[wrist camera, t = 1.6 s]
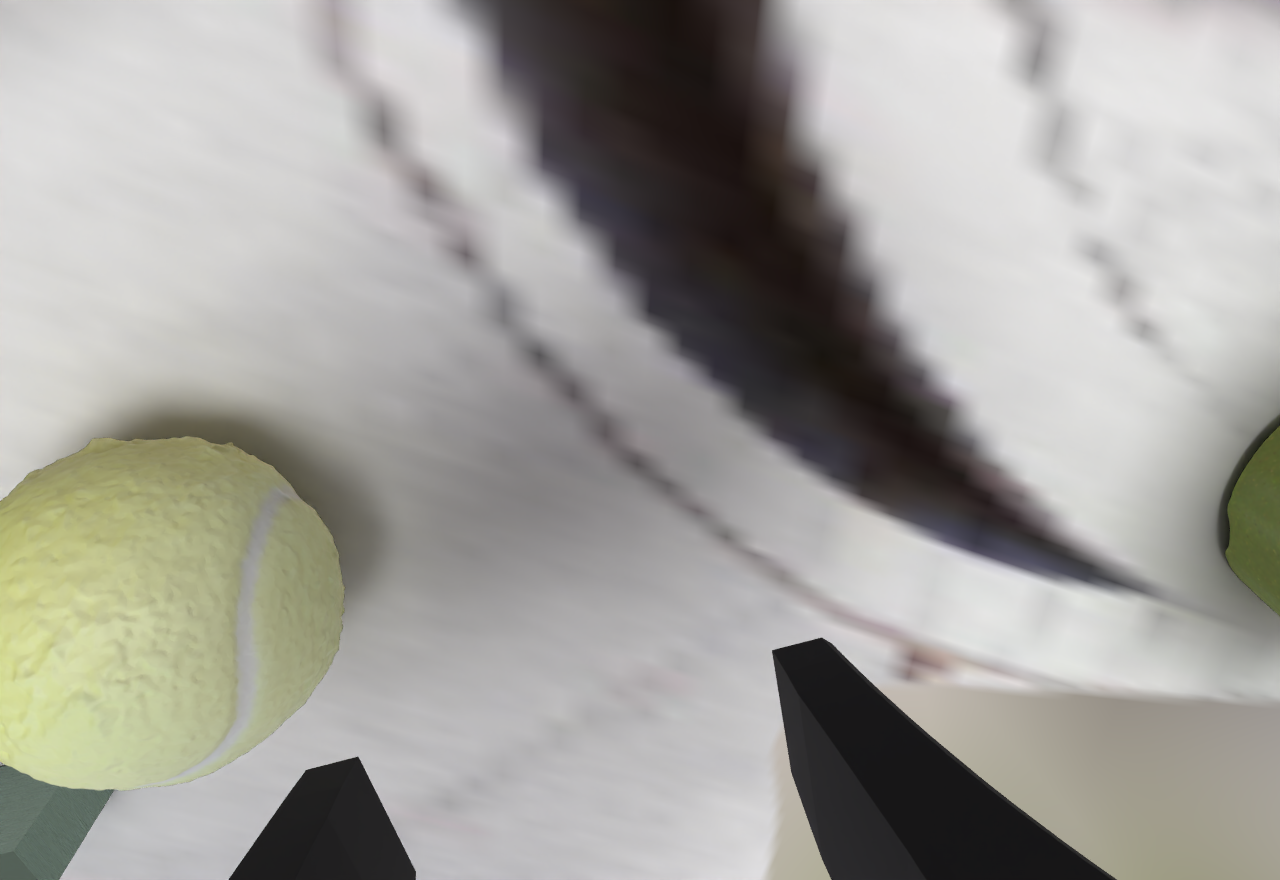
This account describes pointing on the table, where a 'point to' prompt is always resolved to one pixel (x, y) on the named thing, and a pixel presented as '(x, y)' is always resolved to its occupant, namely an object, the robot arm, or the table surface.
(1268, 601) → the plant pot
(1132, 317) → the table surface
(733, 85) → the table surface
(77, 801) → the chute bay
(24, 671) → the tennis ball
